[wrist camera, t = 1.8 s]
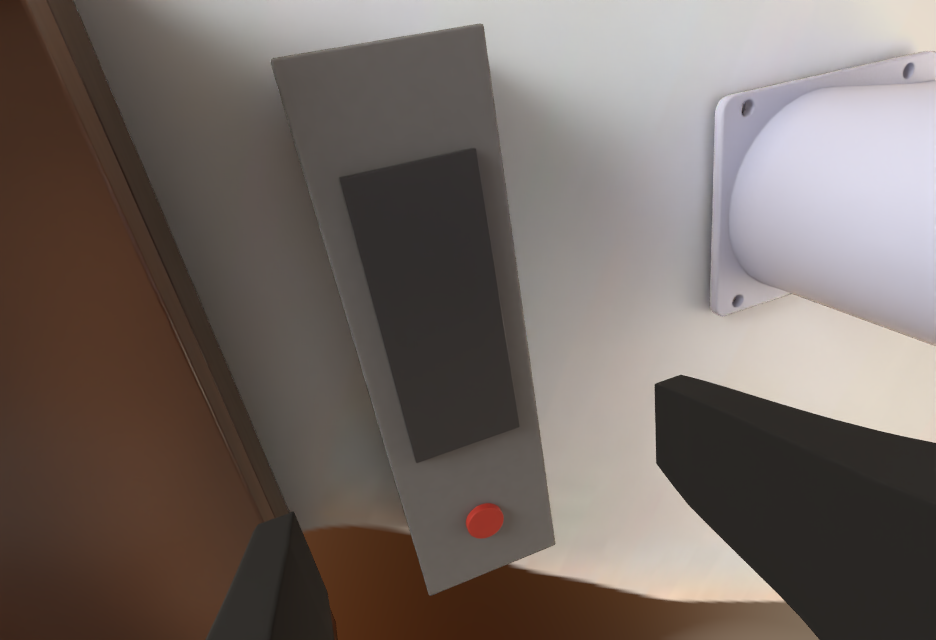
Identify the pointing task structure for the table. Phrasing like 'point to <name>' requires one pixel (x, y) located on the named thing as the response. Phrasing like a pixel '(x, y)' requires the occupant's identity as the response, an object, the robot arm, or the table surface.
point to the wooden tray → (105, 372)
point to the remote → (428, 285)
